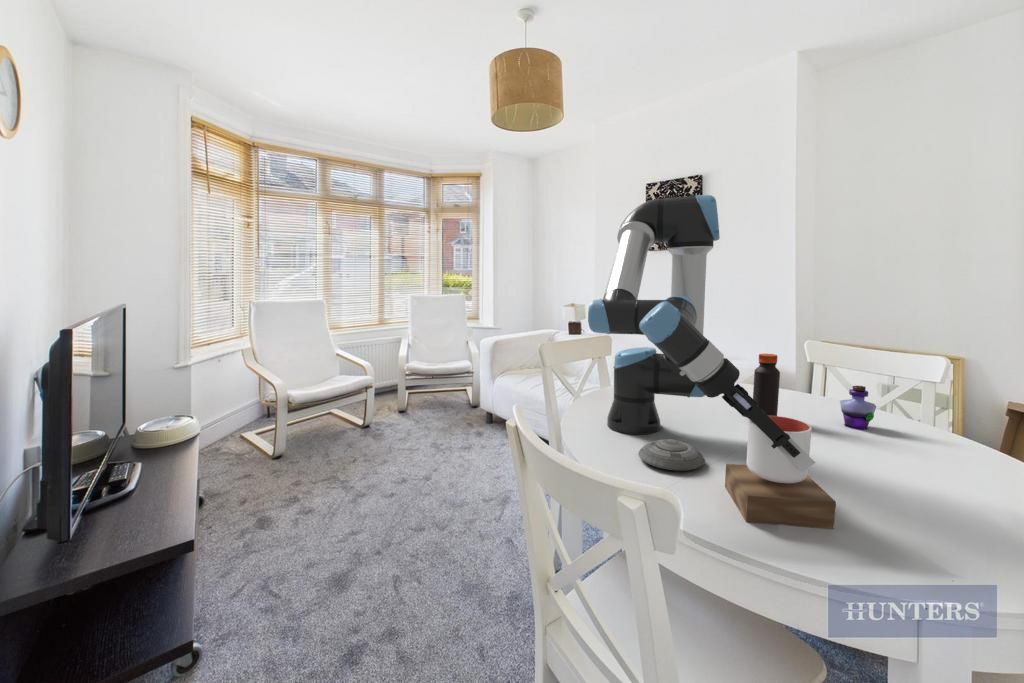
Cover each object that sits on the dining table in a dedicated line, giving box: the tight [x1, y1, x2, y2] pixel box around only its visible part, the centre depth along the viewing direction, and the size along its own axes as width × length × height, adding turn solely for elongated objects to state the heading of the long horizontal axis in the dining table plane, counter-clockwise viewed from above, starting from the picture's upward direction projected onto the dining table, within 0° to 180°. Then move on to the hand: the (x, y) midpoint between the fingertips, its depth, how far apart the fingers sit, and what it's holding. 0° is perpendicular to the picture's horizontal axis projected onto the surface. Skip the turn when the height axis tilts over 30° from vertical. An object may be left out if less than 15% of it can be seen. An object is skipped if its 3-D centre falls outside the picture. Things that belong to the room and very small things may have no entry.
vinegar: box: [752, 353, 781, 416], centre depth 136 cm, size 7×7×20 cm
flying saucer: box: [638, 438, 706, 472], centre depth 106 cm, size 15×15×6 cm
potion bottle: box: [839, 385, 877, 431], centre depth 128 cm, size 9×9×12 cm
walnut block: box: [724, 463, 837, 530], centre depth 85 cm, size 14×14×5 cm
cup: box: [746, 415, 813, 483], centre depth 84 cm, size 10×10×10 cm
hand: (795, 454), depth 83 cm, fingers closed on cup, 10 cm apart
